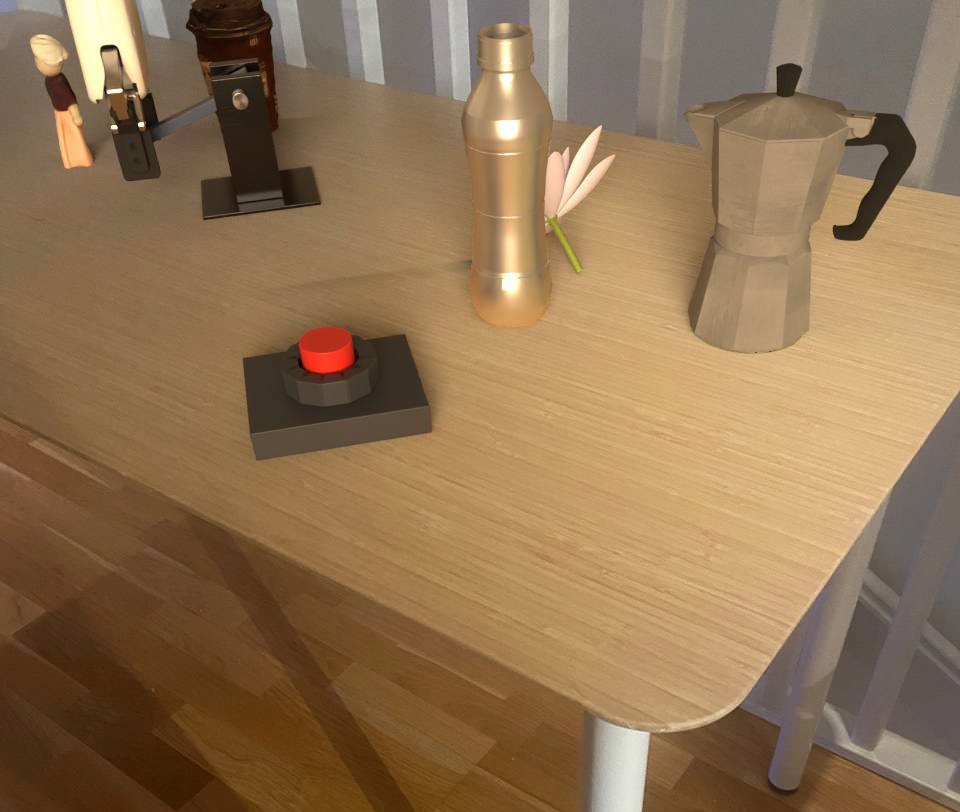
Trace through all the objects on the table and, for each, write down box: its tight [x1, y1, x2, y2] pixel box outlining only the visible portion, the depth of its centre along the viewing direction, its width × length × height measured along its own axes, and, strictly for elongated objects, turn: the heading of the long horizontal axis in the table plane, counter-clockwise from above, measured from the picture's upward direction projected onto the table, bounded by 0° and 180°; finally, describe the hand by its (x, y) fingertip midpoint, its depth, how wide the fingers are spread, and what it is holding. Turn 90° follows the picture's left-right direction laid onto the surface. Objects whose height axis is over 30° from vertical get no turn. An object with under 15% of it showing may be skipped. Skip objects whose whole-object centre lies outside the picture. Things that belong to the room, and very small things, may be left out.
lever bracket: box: [200, 58, 322, 221], centre depth 91 cm, size 11×9×12 cm
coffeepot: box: [681, 62, 918, 354], centre depth 69 cm, size 15×9×18 cm, turn 67°
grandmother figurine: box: [29, 33, 94, 170], centre depth 99 cm, size 8×4×13 cm, turn 43°
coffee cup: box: [185, 0, 280, 134], centre depth 103 cm, size 9×8×13 cm
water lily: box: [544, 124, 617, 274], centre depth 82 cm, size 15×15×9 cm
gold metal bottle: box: [460, 22, 554, 328], centre depth 71 cm, size 6×7×20 cm
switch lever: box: [146, 67, 248, 143], centre depth 89 cm, size 12×5×2 cm, turn 102°
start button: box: [298, 326, 355, 375], centre depth 67 cm, size 4×4×2 cm
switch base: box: [242, 333, 433, 462], centre depth 69 cm, size 12×10×4 cm
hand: (144, 159), depth 91 cm, fingers open, 9 cm apart
